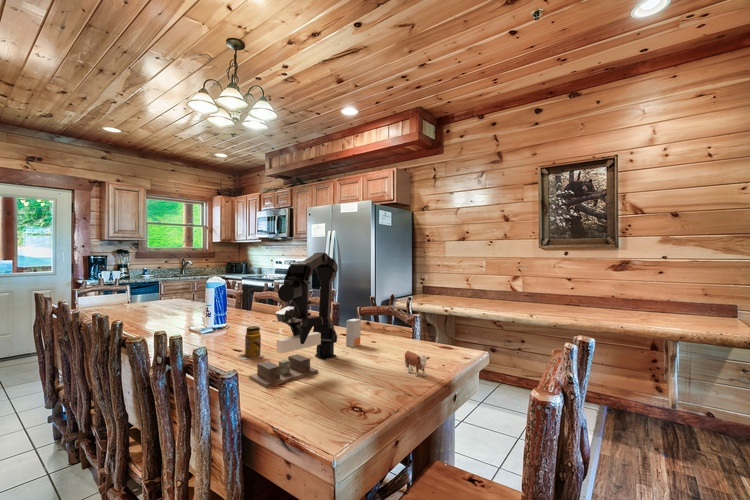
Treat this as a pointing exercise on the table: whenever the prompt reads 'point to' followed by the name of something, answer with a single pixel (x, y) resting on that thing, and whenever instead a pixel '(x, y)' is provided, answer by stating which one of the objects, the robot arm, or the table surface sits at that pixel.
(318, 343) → the frame bar
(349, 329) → the skincare box
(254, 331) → the condiment
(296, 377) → the display stand
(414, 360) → the bull figurine
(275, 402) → the table surface
